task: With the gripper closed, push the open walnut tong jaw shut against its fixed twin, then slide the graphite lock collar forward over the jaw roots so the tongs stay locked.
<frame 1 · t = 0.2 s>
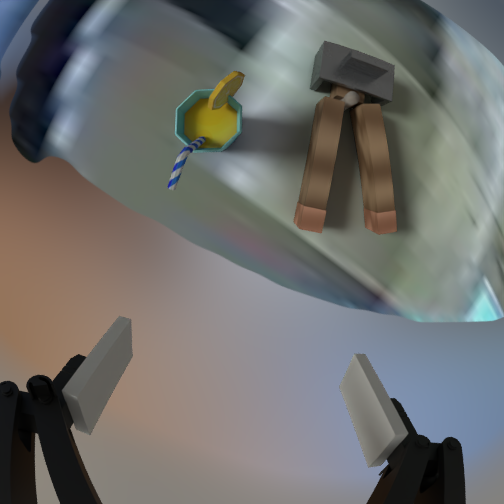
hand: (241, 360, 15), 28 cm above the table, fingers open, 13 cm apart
hinged jaw: (374, 168, 36), point 3 cm above the table, hinge at 20.0°
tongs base: (341, 105, 36), on the table
lock collar: (357, 71, 29), point 5 cm above the table, slide at 0.0 cm
cup: (216, 138, 38), on the table
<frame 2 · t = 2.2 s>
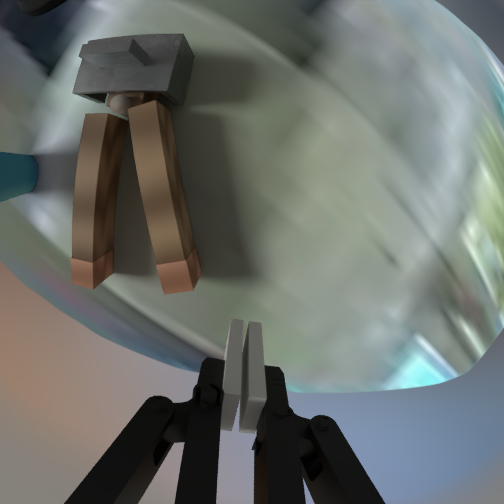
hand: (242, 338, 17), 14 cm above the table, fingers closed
hinged jaw: (164, 196, 26), point 3 cm above the table, hinge at 20.0°
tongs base: (137, 112, 26), on the table
lock collar: (126, 64, 20), point 6 cm above the table, slide at 0.0 cm
cup: (26, 180, 28), on the table
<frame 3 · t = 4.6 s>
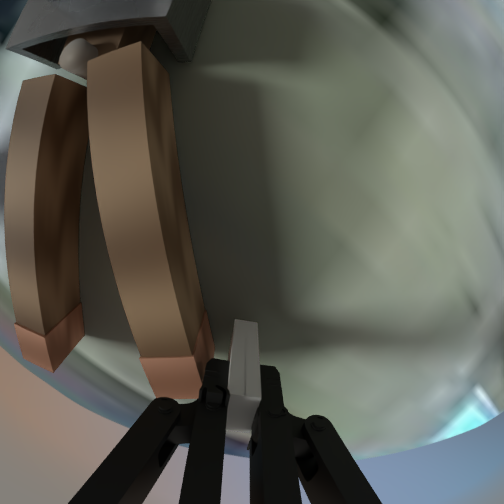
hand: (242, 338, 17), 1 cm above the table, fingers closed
hinged jaw: (151, 230, 14), point 3 cm above the table, hinge at 18.3°
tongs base: (114, 78, 14), on the table
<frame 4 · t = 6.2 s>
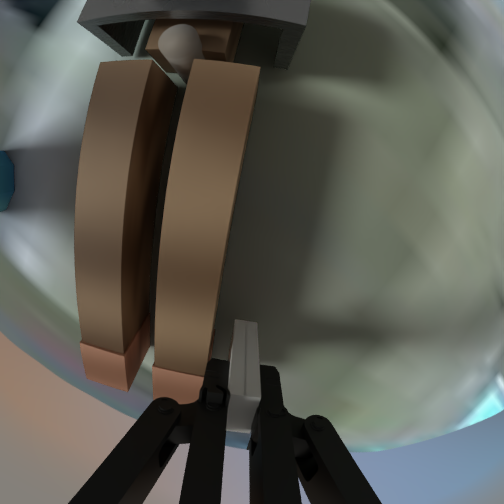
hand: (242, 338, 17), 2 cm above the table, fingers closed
hinged jaw: (198, 252, 14), point 3 cm above the table, hinge at -0.2°, touching gripper
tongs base: (197, 74, 14), on the table
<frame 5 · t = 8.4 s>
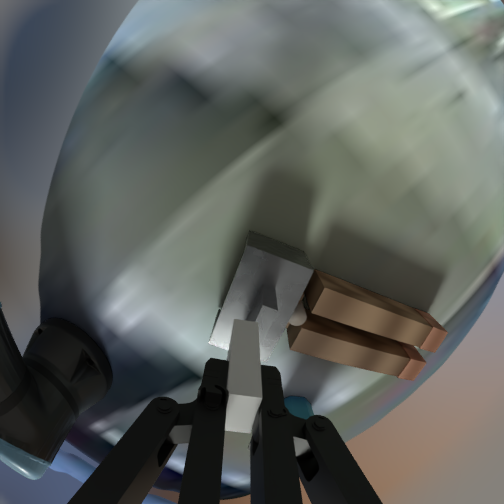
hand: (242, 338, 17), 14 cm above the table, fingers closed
hinged jaw: (382, 314, 28), point 3 cm above the table, hinge at -0.2°
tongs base: (291, 295, 31), on the table
lock collar: (258, 305, 25), point 5 cm above the table, slide at 0.0 cm
cup: (297, 408, 36), on the table
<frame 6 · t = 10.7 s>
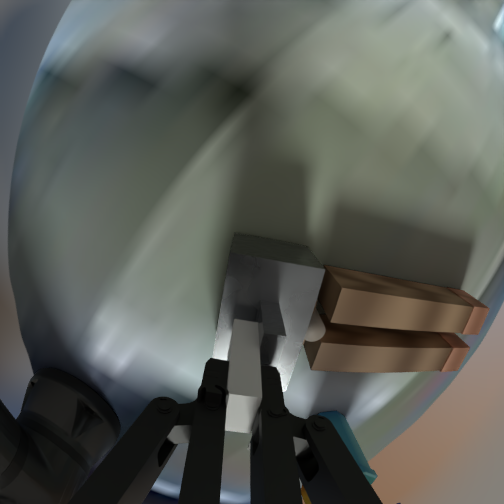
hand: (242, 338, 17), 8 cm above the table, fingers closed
hinged jaw: (414, 304, 22), point 3 cm above the table, hinge at -0.2°
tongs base: (301, 301, 25), on the table
lock collar: (261, 326, 19), point 6 cm above the table, slide at 0.0 cm, touching gripper
cup: (330, 423, 30), on the table
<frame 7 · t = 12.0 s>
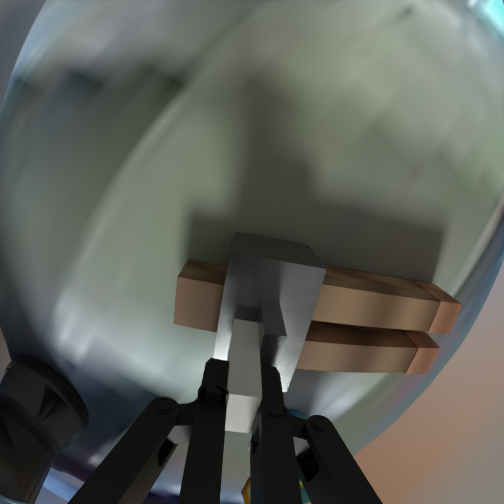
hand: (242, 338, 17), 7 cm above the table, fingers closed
hinged jaw: (367, 297, 22), point 3 cm above the table, hinge at -0.2°
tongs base: (242, 291, 24), on the table
lock collar: (261, 326, 19), point 5 cm above the table, slide at 5.5 cm, touching gripper
cup: (291, 422, 30), on the table
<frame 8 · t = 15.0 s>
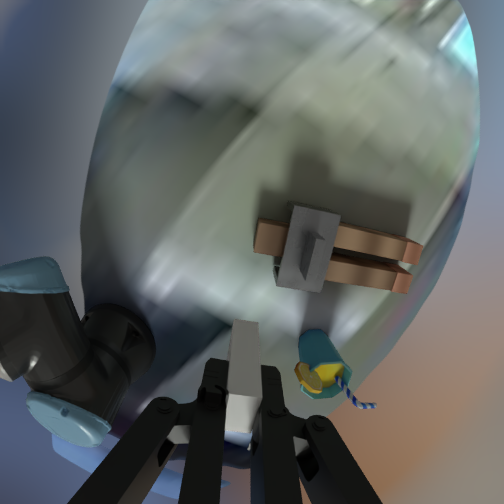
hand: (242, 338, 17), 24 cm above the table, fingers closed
hinged jaw: (363, 239, 38), point 3 cm above the table, hinge at -0.2°
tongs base: (290, 237, 40), on the table
lock collar: (307, 249, 35), point 5 cm above the table, slide at 5.5 cm
cup: (317, 342, 46), on the table
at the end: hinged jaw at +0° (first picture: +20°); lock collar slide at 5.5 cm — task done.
